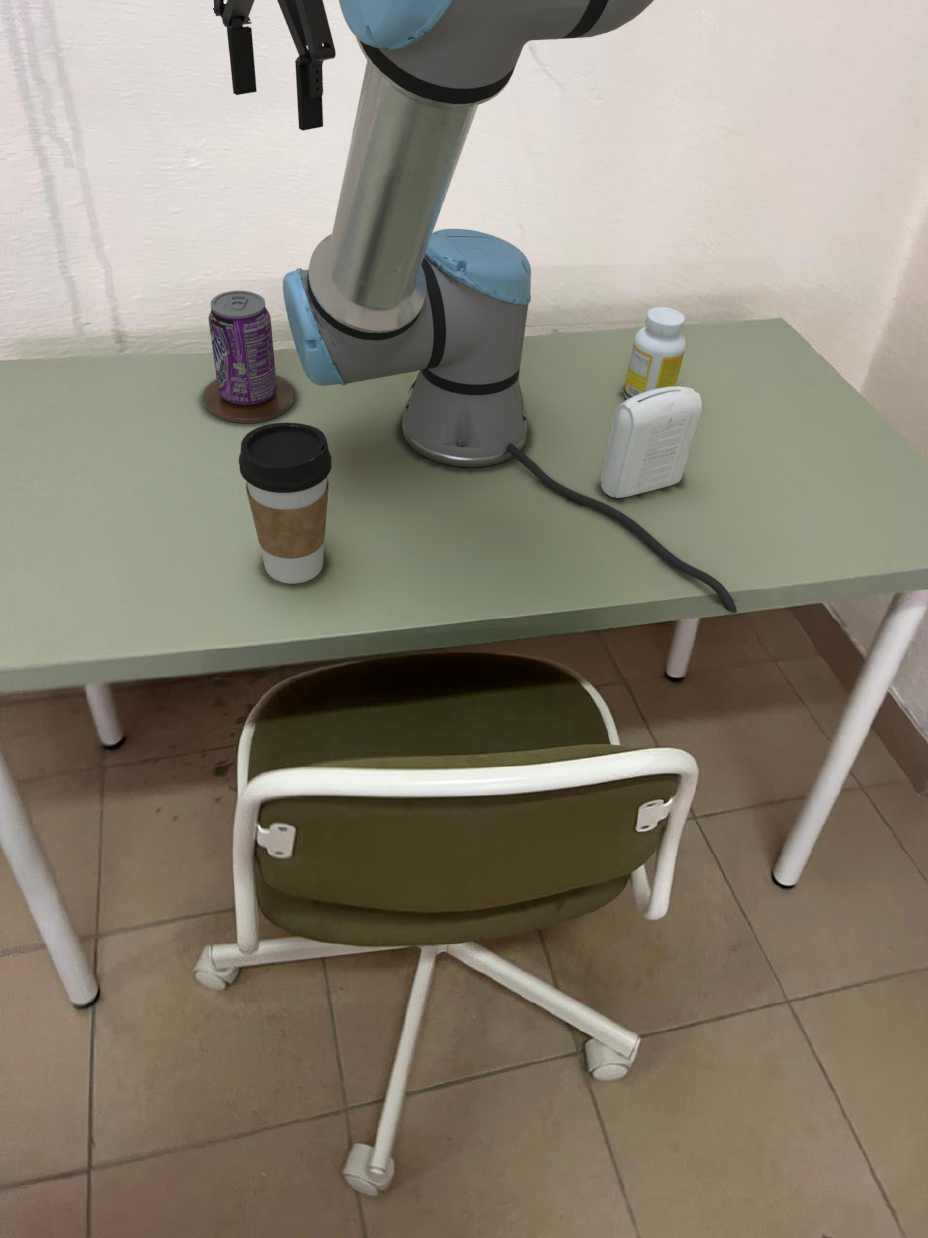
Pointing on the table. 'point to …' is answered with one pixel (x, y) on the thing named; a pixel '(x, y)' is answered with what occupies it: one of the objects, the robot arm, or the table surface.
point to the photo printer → (650, 441)
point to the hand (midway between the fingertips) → (277, 109)
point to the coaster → (249, 412)
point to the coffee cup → (288, 496)
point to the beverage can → (242, 347)
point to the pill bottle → (656, 352)
